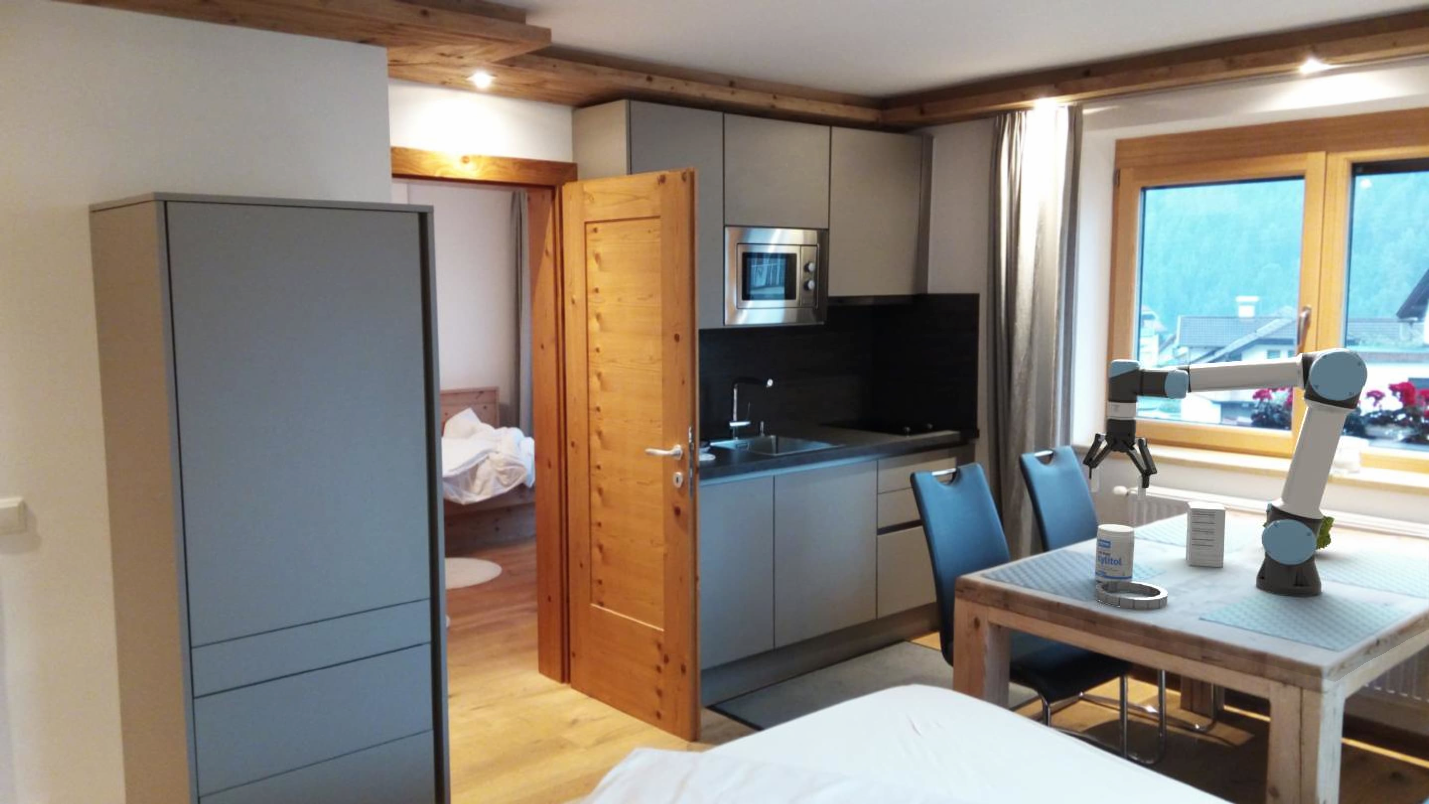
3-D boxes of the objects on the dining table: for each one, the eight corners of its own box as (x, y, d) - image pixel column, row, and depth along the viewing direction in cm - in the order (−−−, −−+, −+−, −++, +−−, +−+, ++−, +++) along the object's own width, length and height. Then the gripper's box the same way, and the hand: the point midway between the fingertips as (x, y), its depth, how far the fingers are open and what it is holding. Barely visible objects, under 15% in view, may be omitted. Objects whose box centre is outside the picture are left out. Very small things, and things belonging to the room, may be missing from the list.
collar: (1179, 600, 267) (1179, 590, 267) (1145, 613, 256) (1145, 603, 256) (1117, 586, 280) (1117, 577, 280) (1082, 598, 269) (1082, 588, 269)
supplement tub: (1093, 583, 283) (1095, 529, 282) (1096, 574, 292) (1097, 522, 290) (1132, 587, 279) (1133, 532, 278) (1133, 578, 288) (1135, 525, 286)
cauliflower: (1328, 531, 321) (1347, 506, 307) (1314, 573, 314) (1333, 549, 301) (1266, 508, 327) (1282, 482, 314) (1251, 548, 321) (1267, 523, 308)
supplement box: (1223, 568, 298) (1226, 509, 296) (1188, 565, 301) (1190, 507, 299) (1219, 560, 307) (1222, 503, 305) (1185, 557, 310) (1187, 501, 308)
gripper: (1072, 413, 288) (1068, 490, 291) (1159, 423, 269) (1154, 505, 271) (1087, 412, 293) (1083, 487, 295) (1173, 421, 274) (1169, 501, 276)
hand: (1117, 495), depth 283 cm, fingers open, 13 cm apart
